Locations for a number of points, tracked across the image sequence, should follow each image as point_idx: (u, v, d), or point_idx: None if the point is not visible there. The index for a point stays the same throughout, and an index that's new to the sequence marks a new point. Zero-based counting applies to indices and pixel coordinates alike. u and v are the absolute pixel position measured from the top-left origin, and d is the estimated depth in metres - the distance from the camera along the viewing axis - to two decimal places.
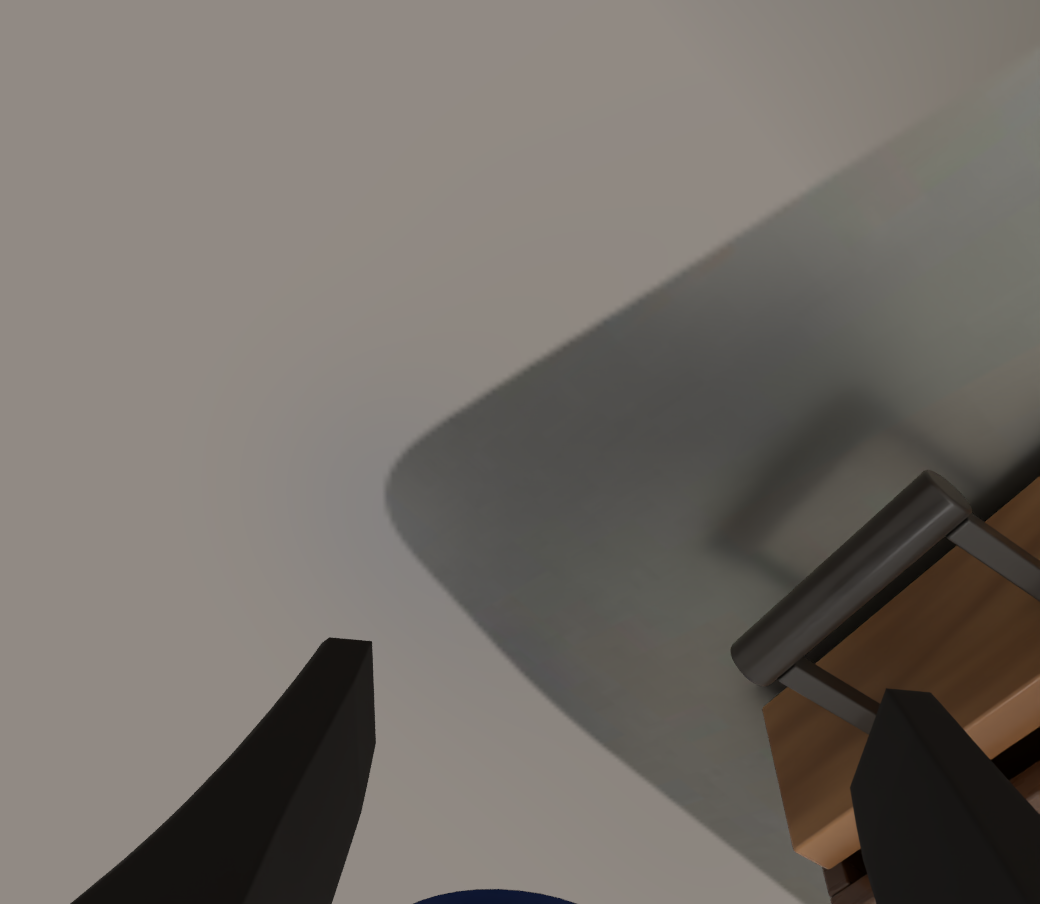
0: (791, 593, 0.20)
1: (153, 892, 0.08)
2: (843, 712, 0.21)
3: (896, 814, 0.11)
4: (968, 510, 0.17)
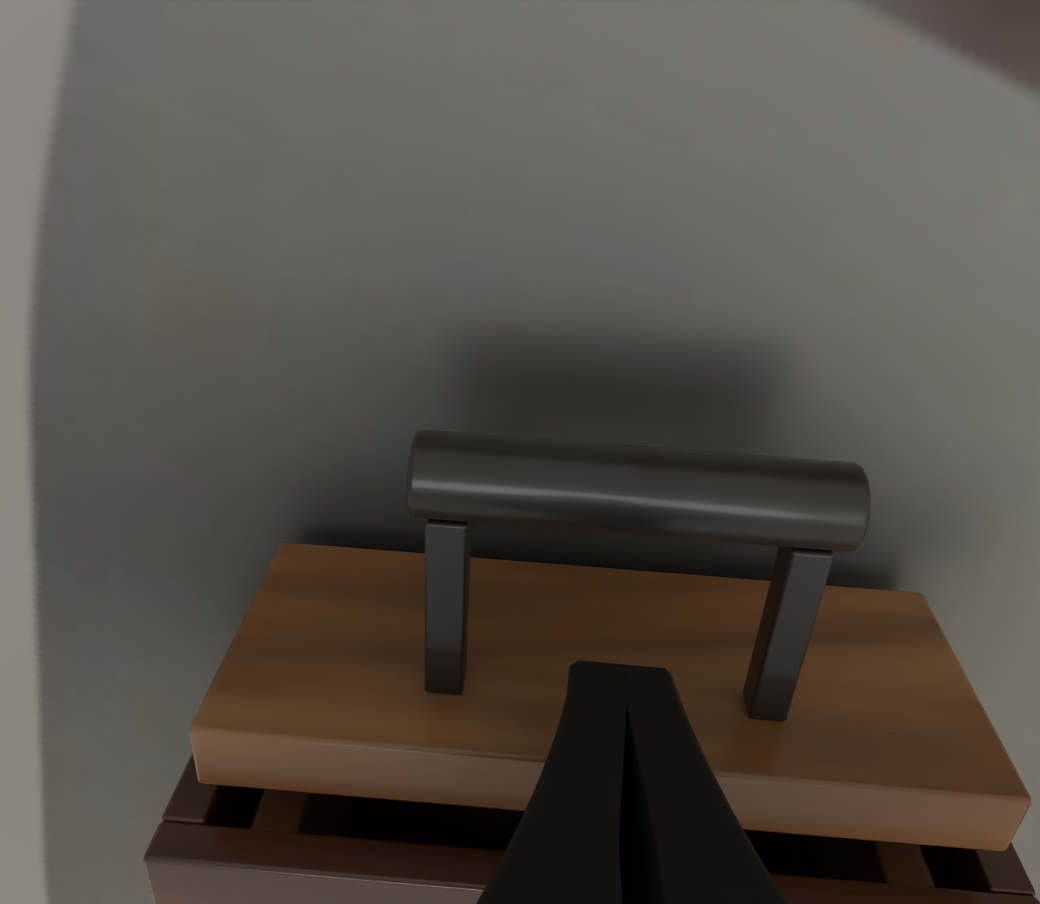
0: (569, 442, 0.12)
1: None
2: (437, 627, 0.13)
3: None
4: (858, 545, 0.12)
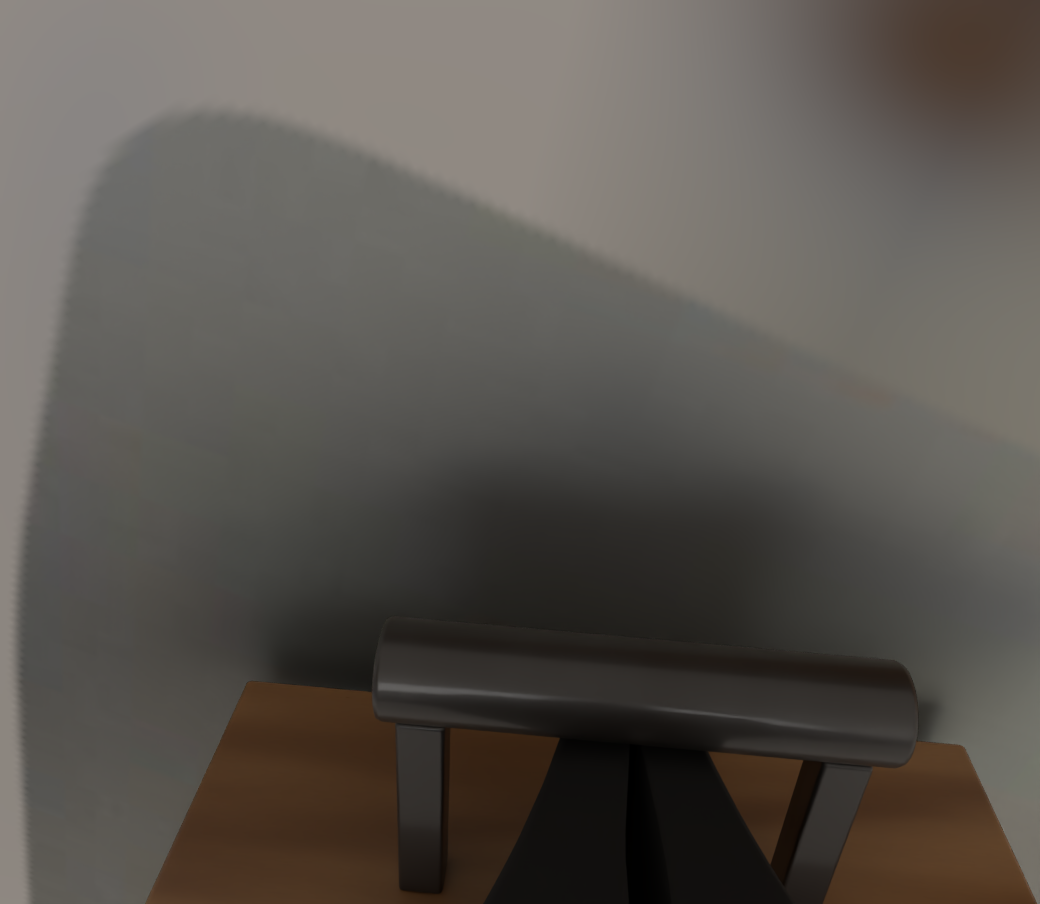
0: (563, 636, 0.10)
1: None
2: (411, 828, 0.11)
3: None
4: (903, 764, 0.10)
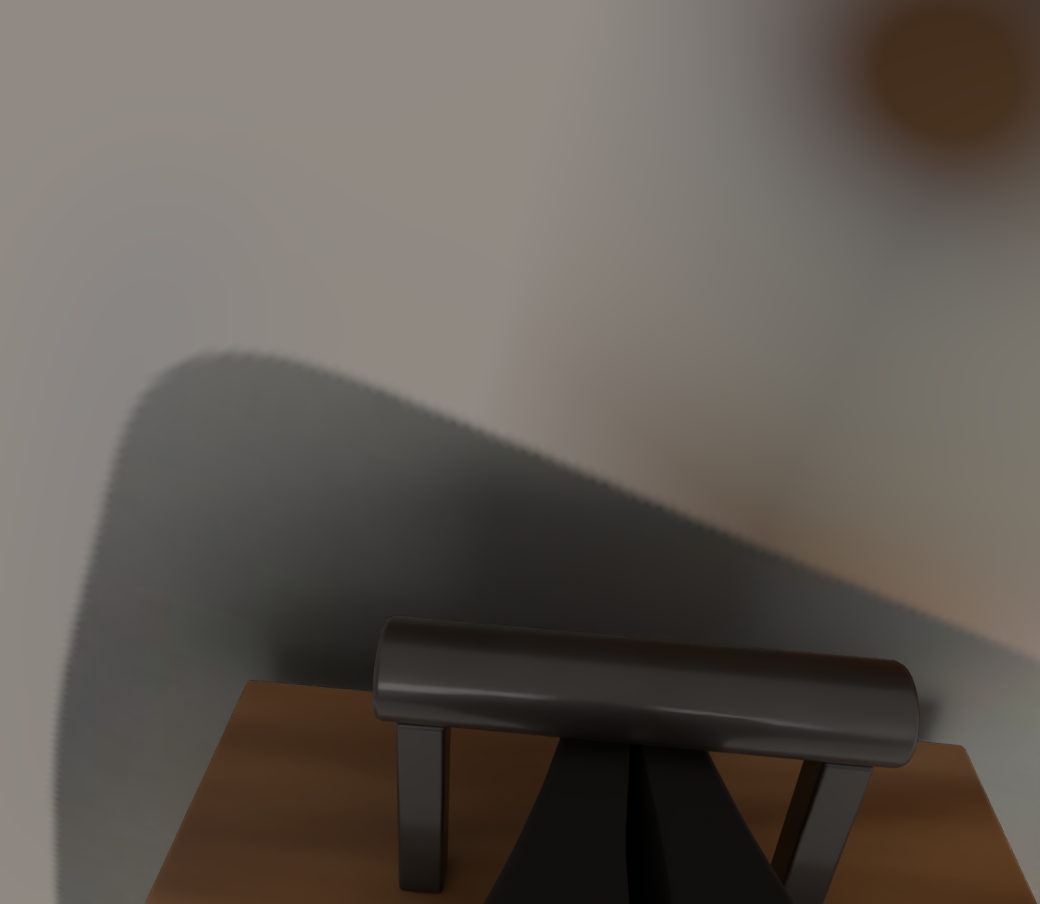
0: (563, 636, 0.10)
1: None
2: (411, 827, 0.11)
3: None
4: (904, 763, 0.10)
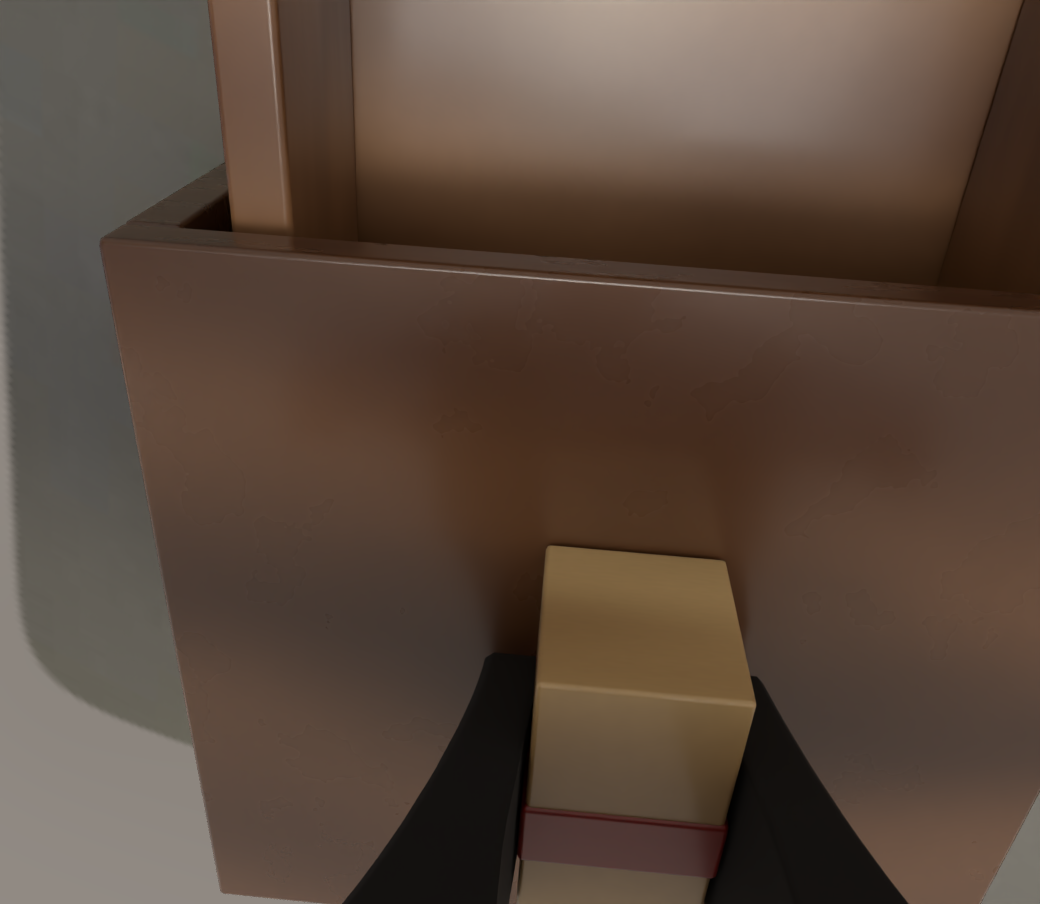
0: None
1: None
2: None
3: None
4: None
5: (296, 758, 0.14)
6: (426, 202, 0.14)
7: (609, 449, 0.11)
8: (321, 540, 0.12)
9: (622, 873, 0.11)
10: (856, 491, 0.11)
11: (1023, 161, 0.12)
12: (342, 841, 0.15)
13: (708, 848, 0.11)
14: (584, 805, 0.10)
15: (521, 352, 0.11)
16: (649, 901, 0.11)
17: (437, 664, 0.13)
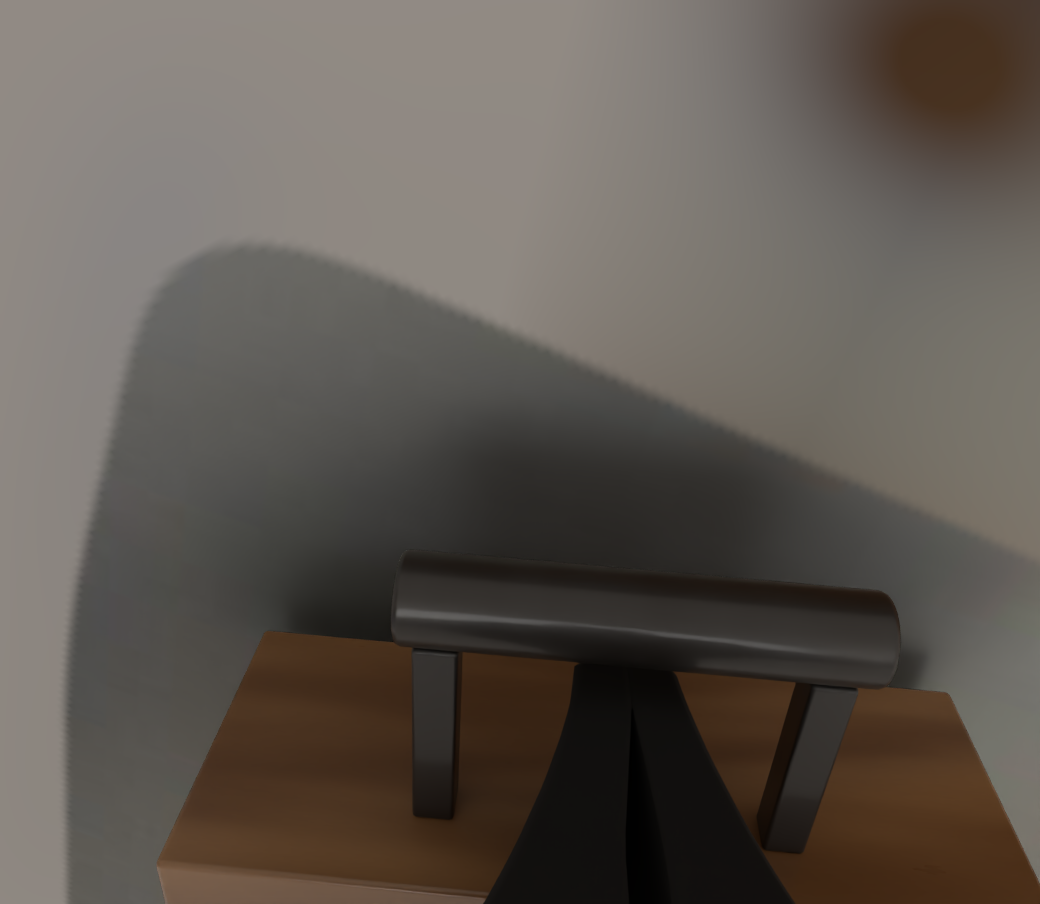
0: (569, 567, 0.11)
1: None
2: (425, 753, 0.12)
3: None
4: (886, 685, 0.11)
5: None
6: None
7: None
8: None
9: None
10: None
11: None
12: None
13: None
14: None
15: None
16: None
17: None
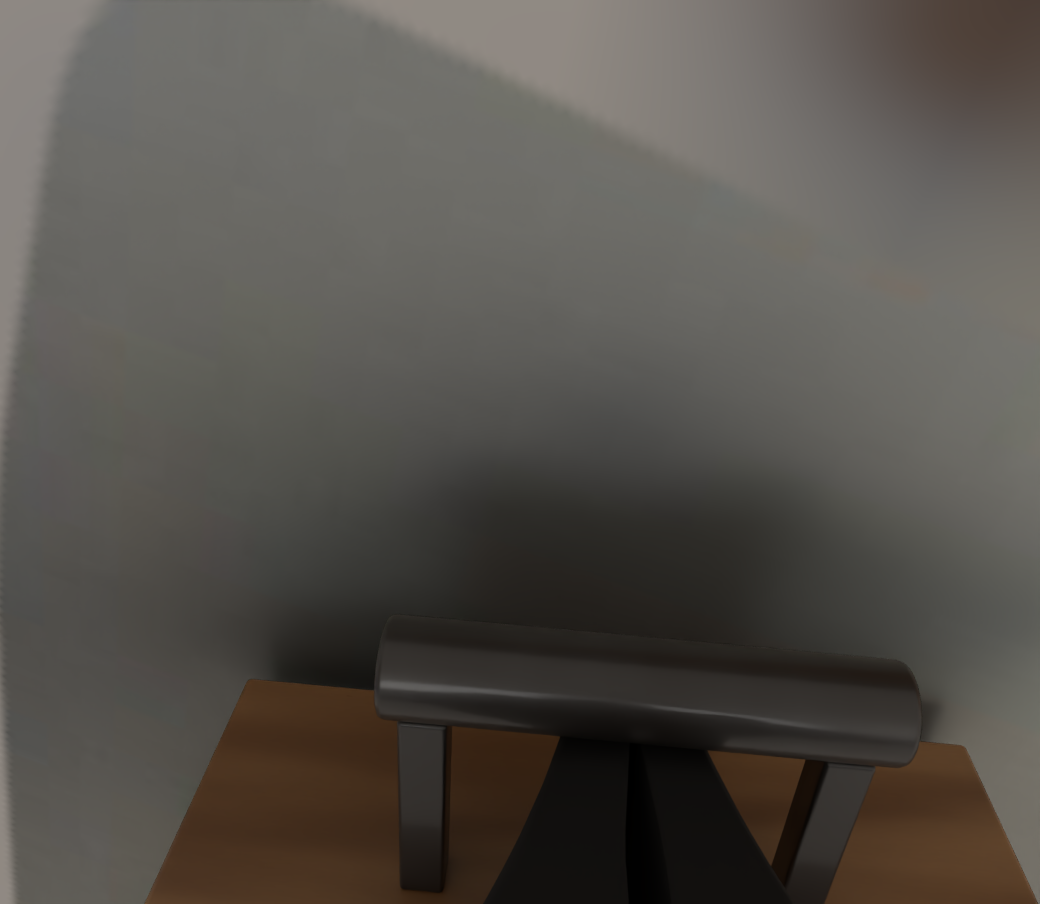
0: (565, 635, 0.10)
1: None
2: (413, 826, 0.11)
3: None
4: (906, 763, 0.10)
5: None
6: None
7: None
8: None
9: None
10: None
11: None
12: None
13: None
14: None
15: None
16: None
17: None
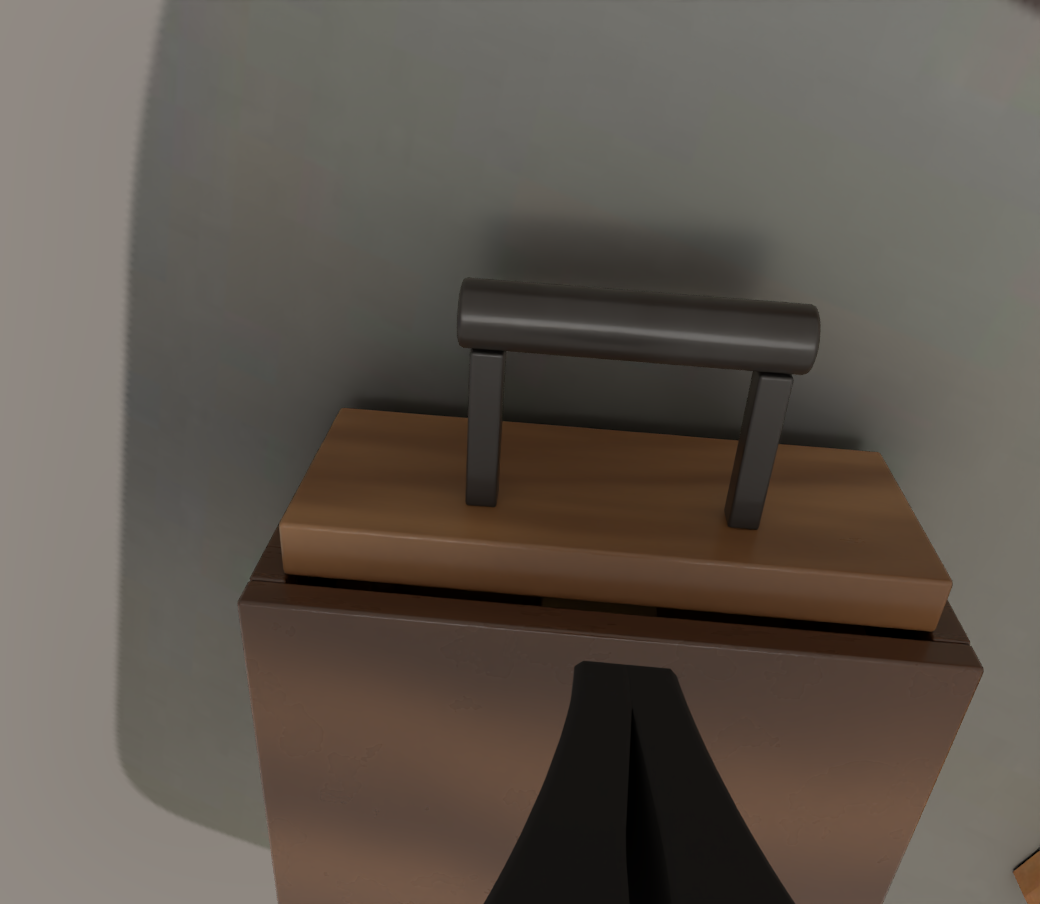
0: None
1: None
2: (477, 445, 0.16)
3: None
4: None
5: (349, 897, 0.20)
6: None
7: None
8: (373, 767, 0.18)
9: None
10: (728, 747, 0.17)
11: None
12: None
13: None
14: None
15: (507, 668, 0.16)
16: None
17: (450, 841, 0.19)
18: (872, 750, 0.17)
